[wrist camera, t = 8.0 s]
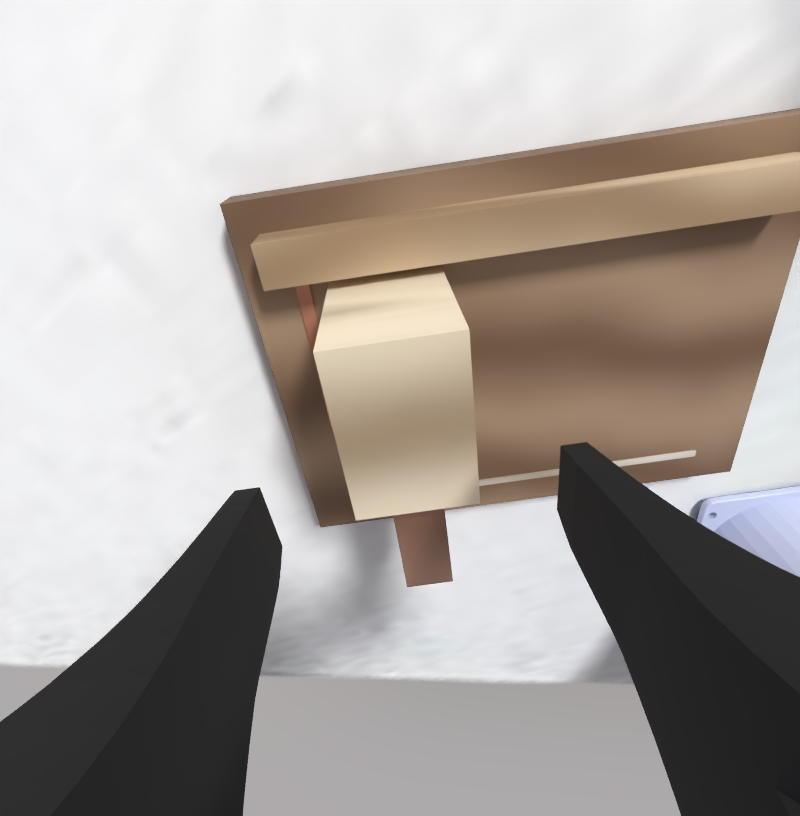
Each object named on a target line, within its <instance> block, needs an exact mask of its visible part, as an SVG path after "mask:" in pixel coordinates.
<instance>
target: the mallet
mask: <svg viewBox="0 0 800 816" xmlns="http://www.w3.org/2000/svg"><path fill="white" fill-rule="evenodd" d="M313 354H314V358H315V362H316V366H317V370H318V374H319V378H320V382H321V385H322V389H323V393H324V397H325V401H326V405H327V409H328V413H329V417H330V421H331V425H332V429H333V433H334V436H335V440H336V444H337V448H338V452H339V456H340V460H341V464H342V468H343V472H344V476H345V480H346V484H347V487H348V491H349V495H350V499H351V503H352V507H353V511H354V515H355V519H356V521H357V520H364V519H372V518H379V517H386V516H393V517H394V522H395V527H396V532H397V537H398V542H399V547H400V552H401V557H402V563H403V568H404V573H405V578H406V583H407V587H412V586H420V585H427V584H435V583H442V582H450V581H453V579H452V570H451V562H450V553H449V545H448V536H447V528H446V519H445V511H444V509H445V508H452V507H459V506H466V505H474V504H480V491H479V475H478V459H477V443H476V427H475V411H474V395H473V378H472V362H471V346H470V330H469V327H468V325H467V323H466V321H465V318H464V316H463V314H462V312H461V309H460V307H459V305H458V303H457V300H456V298H455V296H454V294H453V291H452V289H451V287H450V285H449V282H448V280H447V278H446V276H445V273H444V271H443V269H442V267H441V265H435V266H429V267H422V268H415V269H409V270H402V271H395V272H389V273H382V274H375V275H369V276H362V277H355V278H349V279H342V280H335V281H329V284H328V288H327V293H326V297H325V302H324V306H323V311H322V315H321V319H320V324H319V328H318V333H317V337H316V341H315V346H314V350H313Z"/></svg>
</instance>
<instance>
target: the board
mask: <svg viewBox="0 0 800 816" xmlns="http://www.w3.org/2000/svg"><path fill="white" fill-rule="evenodd" d="M220 206H221V209H222V212H223V216H224V219H225V222H226V225H227V228H228V232H229V235H230V238H231V241H232V245H233V248H234V251H235V254H236V257H237V261H238V264H239V267H240V270H241V273H242V277H243V280H244V283H245V286H246V289H247V293H248V296H249V299H250V302H251V305H252V309H253V312H254V315H255V318H256V321H257V325H258V328H259V331H260V334H261V337H262V341H263V344H264V347H265V350H266V353H267V357H268V360H269V363H270V366H271V369H272V373H273V376H274V379H275V382H276V385H277V389H278V392H279V395H280V398H281V401H282V405H283V408H284V411H285V414H286V417H287V421H288V424H289V427H290V430H291V433H292V437H293V440H294V443H295V446H296V449H297V453H298V456H299V459H300V462H301V466H302V469H303V472H304V475H305V478H306V482H307V485H308V488H309V491H310V494H311V498H312V501H313V504H314V507H315V510H316V514H317V517H318V520H319V523H320V526H321V527H327V526H334V525H342V524H349V523H356V522H363V521H371V520H378V519H385V518H393V516H386V517H379V518H372V519H364V520H357V521H356V519H355V515H354V511H353V507H352V503H351V499H350V495H349V491H348V487H347V484H346V480H345V476H344V472H343V468H342V464H341V460H340V456H339V452H338V448H337V444H336V440H335V436H334V433H333V429H332V425H331V421H330V417H329V413H328V409H327V405H326V401H325V397H324V393H323V389H322V385H321V382H320V378H319V374H318V370H317V366H316V362H315V358H314V354H313V350H314V346H315V341H316V337H317V333H318V328H319V324H320V319H321V315H322V311H323V306H324V302H325V297H326V293H327V288H328V284H329V281H335V280H342V279H349V278H355V277H362V276H369V275H375V274H382V273H389V272H395V271H402V270H409V269H415V268H422V267H429V266H435V265H441V267H442V269H443V271H444V273H445V276H446V278H447V280H448V282H449V285H450V287H451V289H452V291H453V294H454V296H455V298H456V300H457V303H458V305H459V307H460V309H461V312H462V314H463V316H464V318H465V321H466V323H467V325H468V327H469V330H470V346H471V362H472V378H473V395H474V411H475V427H476V443H477V459H478V475H479V491H480V504H474V505H466V506H459V507H452V508H445V509H444V510H451V509H458V508H465V507H473V506H480V505H487V504H495V503H502V502H509V501H516V500H524V499H531V498H538V497H546V496H553V495H558V484H559V465H560V446H561V445H569V444H576V443H583V442H587V443H589V444H590V445H591V446H593V447H594V448H595V449H597V450H598V451H599V452H600V453H602V454H603V455H604V456H606V457H607V458H608V459H609V460H611V461H612V462H613V463H615V464H616V465H617V466H619V467H620V468H621V469H622V470H624V471H625V472H626V473H628V474H629V475H630V476H632V477H633V478H634V479H636V480H637V481H638V482H640V483H648V482H655V481H662V480H669V479H677V478H684V477H691V476H699V475H706V474H713V473H721V472H728V471H730V470H731V467H732V463H733V460H734V457H735V453H736V450H737V447H738V443H739V440H740V437H741V433H742V430H743V427H744V423H745V420H746V417H747V413H748V410H749V406H750V403H751V400H752V396H753V393H754V390H755V386H756V383H757V380H758V376H759V373H760V370H761V366H762V363H763V360H764V356H765V353H766V349H767V346H768V343H769V339H770V336H771V333H772V329H773V326H774V323H775V319H776V316H777V313H778V309H779V306H780V303H781V299H782V296H783V292H784V289H785V286H786V282H787V279H788V276H789V272H790V269H791V266H792V262H793V259H794V256H795V252H796V249H797V246H798V242H799V239H800V108H799V109H792V110H786V111H779V112H773V113H766V114H760V115H754V116H747V117H741V118H734V119H728V120H721V121H715V122H709V123H702V124H696V125H689V126H683V127H677V128H670V129H664V130H657V131H651V132H644V133H638V134H632V135H625V136H619V137H612V138H606V139H599V140H593V141H587V142H580V143H574V144H567V145H561V146H554V147H548V148H542V149H535V150H529V151H522V152H516V153H510V154H503V155H497V156H490V157H484V158H477V159H471V160H465V161H458V162H452V163H445V164H439V165H432V166H426V167H420V168H413V169H407V170H400V171H394V172H388V173H381V174H375V175H368V176H362V177H355V178H349V179H343V180H336V181H330V182H323V183H317V184H310V185H304V186H298V187H291V188H285V189H278V190H272V191H265V192H259V193H253V194H246V195H240V196H233V197H230V198H229V199H227V200H226V201H224V202H223V203H221V204H220Z"/></svg>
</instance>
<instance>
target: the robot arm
mask: <svg viewBox="0 0 800 816" xmlns="http://www.w3.org/2000/svg"><path fill="white" fill-rule="evenodd" d="M557 510H558V513H559V516H560V519H561V522H562V525H563V528H564V531H565V534H566V536H567V539H568V542H569V545H570V547H571V549H572V552H573V554H574V556H575V558H576V560H577V562H578V564H579V566H580V568H581V570H582V572H583V574H584V576H585V578H586V580H587V582H588V584H589V586H590V588H591V590H592V592H593V594H594V596H595V598H596V600H597V602H598V604H599V606H600V608H601V610H602V612H603V614H604V616H605V618H606V620H607V622H608V624H609V626H610V628H611V630H612V632H613V634H614V636H615V638H616V640H617V643H618V645H619V647H620V649H621V651H622V654H623V656H624V659H625V661H626V664H627V666H628V669H629V672H630V674H631V677H632V679H633V682H634V685H635V687H636V690H637V692H638V695H639V697H640V700H641V703H642V706H643V708H644V711H645V714H646V716H647V719H648V722H649V724H650V727H651V730H652V733H653V735H654V738H655V740H656V743H657V746H658V749H659V752H660V755H661V758H662V760H663V764H664V766H665V769H666V772H667V775H668V778H669V781H670V784H671V787H672V790H673V792H674V795H675V798H676V801H677V804H678V807H679V810H680V813H681V816H800V486H795V487H788V488H781V489H773V490H766V491H759V492H751V493H744V494H737V495H729V496H722V497H715V498H709V499H707V500H705V501H704V502H703V503H702V505H701V507H700V511H699V515H698V519H697V521H696V520H694V519H692V518H691V517H689V516H688V515H686V514H685V513H683V512H682V511H680V510H678V509H677V508H675V507H674V506H673V505H671V504H670V503H668V502H667V501H665V500H664V499H662V498H661V497H659V496H658V495H657V494H655V493H654V492H652V491H651V490H650V489H648V488H647V487H645V486H644V485H643V484H641V483H640V482H638V481H637V480H636V479H634V478H633V477H632V476H630V475H629V474H628V473H626V472H625V471H624V470H622V469H621V468H620V467H619V466H617V465H616V464H615V463H613V462H612V461H611V460H609V459H608V458H607V457H606V456H604V455H603V454H602V453H600V452H599V451H598V450H597V449H595V448H594V447H593V446H591V445H590V444H589V443H587V442H583V443H576V444H569V445H561V446H560V465H559V484H558V503H557ZM281 556H282V545H281V542H280V539H279V537H278V534H277V531H276V529H275V526H274V524H273V521H272V518H271V516H270V513H269V511H268V508H267V505H266V503H265V500H264V497H263V495H262V492H261V490H260V487H259V488H252V489H244V490H237V491H234V492H233V494H232V495H231V496H230V497H229V498H228V499H227V501H226V502H225V503H224V504H223V506H222V507H221V508H220V509H219V511H218V512H217V513H216V514H215V516H214V517H213V518H212V519H211V521H210V522H209V523H208V524H207V526H206V527H205V528H204V529H203V531H202V532H201V533H200V534H199V535H198V537H197V538H196V539H195V540H194V541H193V543H192V544H191V545H190V546H189V547H188V549H187V550H186V551H185V552H184V553H183V555H182V556H181V557H180V558H179V559H178V561H177V562H176V563H175V564H174V565H173V566H172V567H171V568H170V569H169V570H168V572H167V573H166V574H165V575H164V576H163V577H162V578H161V579H160V580H159V582H158V583H157V584H156V585H155V586H154V587H153V588H152V589H151V590H150V591H149V593H148V594H147V595H146V596H145V597H144V598H143V599H142V600H141V601H140V602H139V603H138V604H137V605H136V606H135V607H134V608H133V609H132V610H131V611H130V612H129V613H128V614H127V615H126V616H125V617H124V618H123V619H122V620H121V621H120V622H119V623H118V624H117V625H116V626H115V627H114V628H113V629H112V630H110V631H109V632H108V633H107V634H106V635H105V636H104V637H103V638H102V639H101V640H100V641H99V642H98V643H96V644H95V645H94V646H93V647H92V648H91V649H90V650H88V651H87V652H86V653H85V654H84V655H83V656H81V657H80V658H79V659H78V660H77V661H76V662H74V663H73V664H72V665H71V666H70V667H69V668H67V669H66V670H65V671H64V672H63V673H62V674H60V675H59V676H58V677H57V678H56V679H55V680H53V681H52V682H51V683H50V684H49V685H47V686H46V687H45V688H44V689H42V690H41V691H40V692H38V693H37V694H36V695H35V696H34V697H32V698H31V699H30V700H28V701H27V702H26V703H24V704H23V705H22V706H21V707H19V708H18V709H17V710H15V711H14V712H13V713H11V714H10V715H9V716H7V717H6V718H5V719H3V720H2V721H1V722H0V816H243V804H244V793H245V783H246V772H247V763H248V754H249V744H250V736H251V727H252V720H253V711H254V703H255V696H256V691H257V686H258V680H259V675H260V671H261V666H262V662H263V657H264V653H265V648H266V644H267V639H268V635H269V630H270V626H271V621H272V616H273V612H274V607H275V602H276V598H277V593H278V588H279V579H280V569H281Z"/></svg>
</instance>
